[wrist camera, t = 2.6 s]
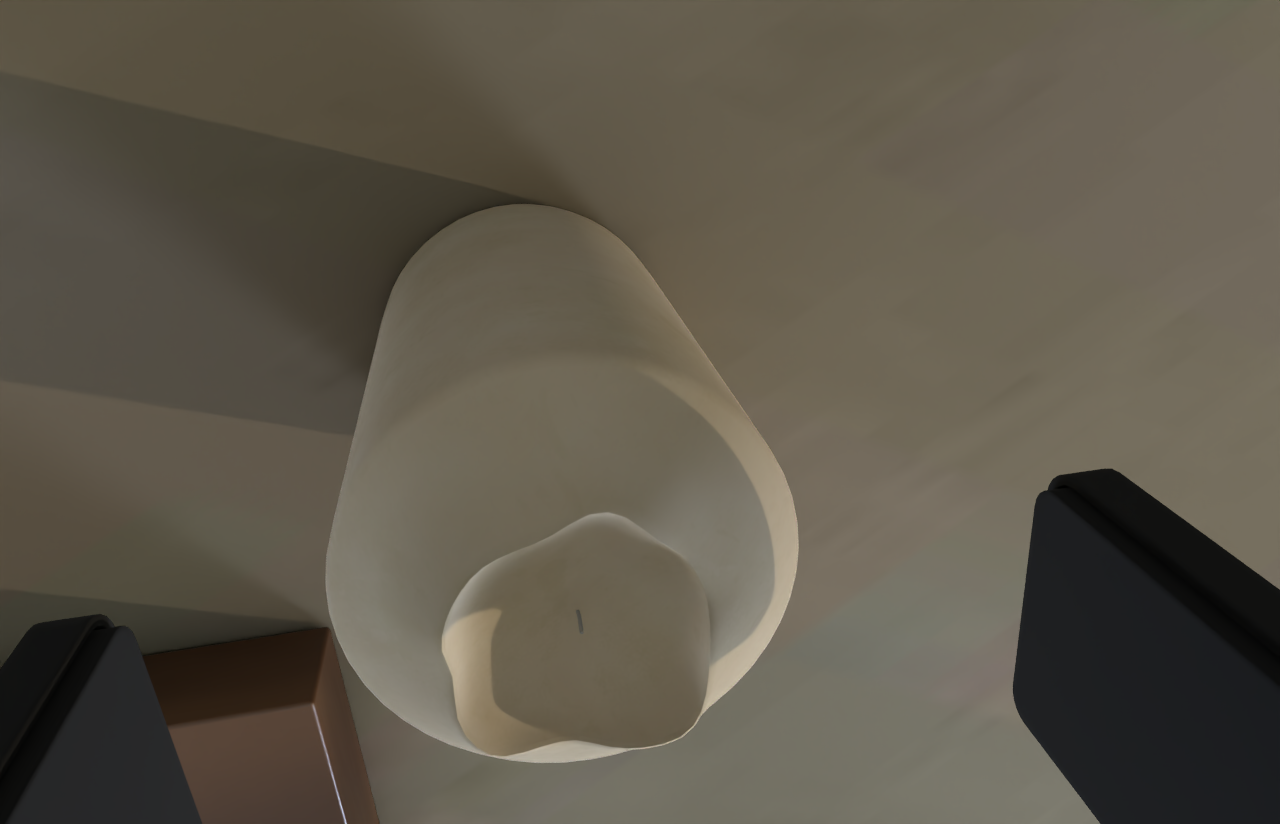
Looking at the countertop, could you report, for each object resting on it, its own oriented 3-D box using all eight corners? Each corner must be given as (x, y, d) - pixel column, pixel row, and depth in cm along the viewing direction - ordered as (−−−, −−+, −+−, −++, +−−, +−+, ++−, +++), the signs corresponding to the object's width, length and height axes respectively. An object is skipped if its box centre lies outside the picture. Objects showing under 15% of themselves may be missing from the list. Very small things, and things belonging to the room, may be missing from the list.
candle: (715, 343, 19) (938, 645, 10) (519, 510, 20) (567, 928, 11) (534, 137, 17) (616, 293, 8) (320, 334, 18) (176, 679, 9)
